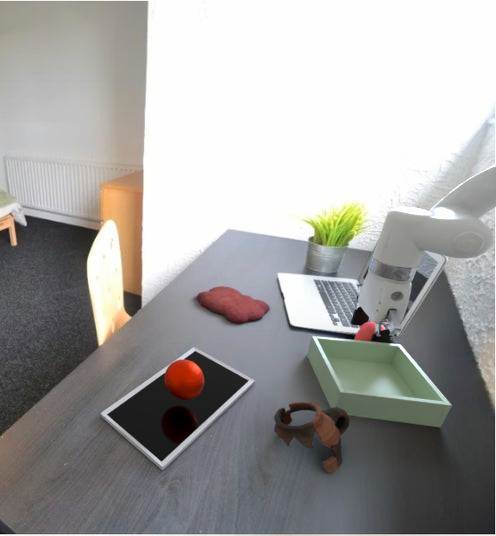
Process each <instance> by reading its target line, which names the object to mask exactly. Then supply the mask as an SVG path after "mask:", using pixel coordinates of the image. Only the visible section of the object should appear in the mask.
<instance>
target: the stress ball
mask: <svg viewBox="0 0 496 536" xmlns="http://www.w3.org/2000/svg"><path fill="white" fill-rule="evenodd" d="M385 329H386V328H385V327H384V325H381V330H385ZM373 333H375V334H376V327H375V323H374V322H373V321H368V322H366V323H364V324H363V325H362V326H360V327H359V329H358V330H357V331H356V334H355V336H354V339H353V340H360V341H370V340H371V338H372V335H373Z"/></svg>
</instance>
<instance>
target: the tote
mask: <svg viewBox="0 0 496 536" xmlns="http://www.w3.org/2000/svg"><path fill="white" fill-rule="evenodd" d="M306 352H307V353H306V357H307V359H308V361H309V363H310V366H311V368H312V370H313V372H314V374H315V376H316V378H317V382H318V383H319V385H320V388H321V390H322V392H323V394H324V396H325V399H326V400H327V403H328V405H329V408H334V407H338V408H341V409H343V410H345V411H346V412H347V414H348V415H349V417H356V418H366V419H373V420H380V421H389V422H395V423H396V422H397V423H404V424H411V425H419V426H426V427H433V428H441V427H442V425H443V424H444V422H445V420H446V418H447V416H448V414H449V412H450V410H451V408H452V407H453V405H452V404H451V402H450V401H449V400H448V399H447V398H446V396H445V395H444V394H443V393H442V392H441V391H440V389H439V388H438V387H437V386H436V385H435V383H434V382H433V380H431V378H429V376H428V375H427V374H426V373H425V371H424V370H423V369H422V368H421V367H420V366H419V364H418V363H417V361H415V359H414V358H413V357H412V356H411V355H410V354H409V352H408V351H407V350H406V349H405V348H404V346H403V344H399V343H392V342H391V343H390V342H389V343H381V342H370V341H360V340H354V339H350V338H349V339H347V338H337V337H327V336H317V335H312V336H311V338H310V341H309V345H308V348H307V351H306Z"/></svg>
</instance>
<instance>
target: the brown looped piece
mask: <svg viewBox="0 0 496 536" xmlns="http://www.w3.org/2000/svg"><path fill="white" fill-rule="evenodd" d="M288 407H289V409H287V410H286V408H285V407H281V408H278V409H277V411H276V412H275V413H274V416H273V419H274V422H275V424H274V432H275V435H277V436H278V437H279V438H281V439H282V441H283V442H284V444H285V445H286V446H287V448H289V447H290V444H291V442H292V440H293V439H295V440H296V441H297V442H298V443H300V444H301V445H302V446H303V447H304V448H307V449H314V445H313V440H314V436H315V433H316V435H317V436H318V438H319V441H320V442H321V444H322V445H324V447H326V448H330V450H331V452H332V456H330V457H329V458H327V459H325V460H323V461H322V464H323V467H324V470H325V473H326V474H331V473H333V472H335V471H336V470H338V469H339V468H340V467H341V466H342V464H343V451H342V448H343V447H342V439H341V437H342V435H343V434H345V433H346V431H347V430H348V428H349V426H350V423H351V418H350V416H349V415H348V414H347V412H346V411H345V410H343V409H341V408H338V407H334V408H331V407H329V408H327V409H322V408H321V407H320V406H319V405H317V404H316V403H314V402H310V401H294V402H290V403H289V404H288ZM300 411H311V412H314V413H316V414H315V416H314V418H312V419H311V420H310V421H308V422H306V423H304V424H300V425H290V424H291V423H292V422H293V417H292V415H291V414H293V413H295V412H300Z"/></svg>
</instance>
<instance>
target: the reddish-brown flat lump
mask: <svg viewBox="0 0 496 536" xmlns="http://www.w3.org/2000/svg"><path fill="white" fill-rule="evenodd" d="M196 298H197V300H198V301H199V304H200V305H201V306H203V307H204V308H206V309H209V310H210V311H211V312H213V313H216V314H220V315H222V316H224V317H225V318H226V320H228V321H230V322H232V323H236V324H243V323H247V322H248V321H258V320H261V319H262V318H264V316H265V314H266V313H268V312H269V311H270V310H271V307H270V305H269V304H268V303H267V302H266V301H264V300H261V299H254V298H253V297H252V296H250V295H248V294H247V295H246V294H243V293H241V291H239V290H238V289H235V288H233V287H229V286H223V285H222V286H221V285H220V286H215V287H213V288H210V289H209V290H207V291H201V292H199V293H198V294H197V296H196Z"/></svg>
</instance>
